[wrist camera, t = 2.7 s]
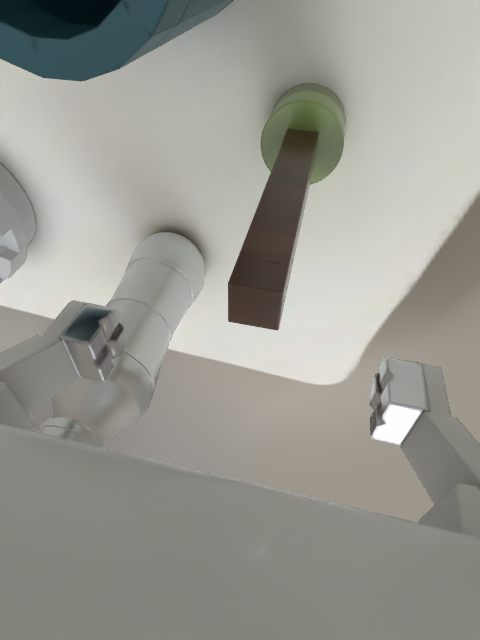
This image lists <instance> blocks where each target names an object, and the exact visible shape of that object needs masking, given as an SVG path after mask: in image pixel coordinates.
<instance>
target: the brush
mask: <svg viewBox="0 0 480 640" xmlns="http://www.w3.org/2000/svg"><path fill="white" fill-rule="evenodd" d="M344 134H345V113H344V109H343V106H342V104H341V102H340V100H339V99H338V97H337V96H336V95H335V94H334V93H333V92H332V91H330V90H329V89H328V88H326V87H324V86H321V85H318V84H302V85H298V86H296V87H294V88H292V89H290V90H288V91H287V92H286V93H285V94H283V95H282V97H281V98H280V99H279V100H278V102H277V103H276V105H275V107H274V109H273V111H272V113H271V115H270V117H269V119H268V121H267V123H266V124H265V127H264V129H263V132H262V136H261V152H262V156H263V159H264V162H265V164H266V165H267V167H268V169H269V170H270V171H271V173H270V176H269V178H268V181H267V184H266V186H265V189H264V191H263V194H262V197H261V199H260V202H259V204H258V207H257V210H256V212H255V215H254V217H253V220H252V223H251V225H250V228H249V230H248V233H247V236H246V238H245V241H244V243H243V246H242V249H241V251H240V254H239V256H238V259H237V262H236V264H235V267H234V269H233V272H232V275H231V277H230V280H229V282H228V321H229V322H234V323H239V324H245V325H251V326H256V327H262V328H267V329H273V330H278V329H279V325H280V320H281V316H282V311H283V306H284V302H285V297H286V292H287V288H288V283H289V278H290V274H291V269H292V264H293V260H294V255H295V250H296V245H297V241H298V236H299V231H300V227H301V222H302V217H303V213H304V208H305V203H306V199H307V194H308V189H309V185H310V184H313V183H316V182H318V181H320V180H322V179H324V178H325V177H326V176H328V175H329V174H330V173H331V172H332V171H333V170H334V168H335V167H336V166H337V164H338V162H339V160H340V158H341V155H342V151H343V145H344Z"/></svg>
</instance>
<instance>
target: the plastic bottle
mask: <svg viewBox="0 0 480 640" xmlns="http://www.w3.org/2000/svg"><path fill="white" fill-rule="evenodd" d="M205 274H206V267H205V262H204V260H203V257H202V255H201V253H200V252H199V250H198V248H197V247H196V246H195V245H194V244H193V243H192V242H191V241H190V240H189V239H187V238H185V237H184V236H181V235H179V234H176V233H172V232H159V233H154V234H152V235H150V236H148V237H147V238H146V239H145V240H143V241H142V242H141V243H140V244H139V245H138V246H137V247H136V248H135V250H134V252H133V254H132V256H131V258H130V260H129V263H128V266H127V269H126V272H125V274H124V276H123V278H122V280H121V282H120V284H119V286H118V288H117V289H116V291H115V293H114V295H113V297H112V299H111V300H110V301H109V302H108V304H107V305H106V307H110V308H115V309H118V310H120V313H121V316H122V318H121V320H120V323H121V324H122V325H123V326H124V327H125V330H126V342H125V346H124V349H123V351H122V352H121V354H120V355H119V356H117V357H116V358H114V359H112V360H113V364H114V366H113V368H112V370H111V371H110V373H109V375H108V376H107V378H106V380H105V381H104V382H103V381H97V380H92V379H86V378H81V377H79V378H80V379H79V380H77V381H76V382H74V383H73V384H72V385H70V386H69V387H67V388H66V389H65V390H63V391H62V392H60V393H59V394H58V395H56V396H55V397H54V398H52V399H51V400H52V409H53V417H52V418H51V419H46V420H45V421H44V422H43V423H42V424H41V426H40V427H39V433H44V434H48V435H52V436H56V437H60V438H65V439H69V440H73V441H77V442H82V443H86V444H90V445H94V446H98V447H103V448H105V445H104V443H103V442H104V441H105V440H106V439H108V438H110V437H111V436H114V435H116V434H118V433H120V432H121V431H123V430H125V429H126V428H128V427H129V426H131V425H132V424H134V423H135V422H137V421H138V420H139V419H140V417H141V416H142V415H143V414H144V413H145V412H146V410H147V409H148V408H149V405H150V402H151V400H152V397H153V393H154V389H155V386H156V382H157V379H158V375H159V371H160V368H161V364H162V361H163V358H164V356H165V353H166V351H167V348H168V345H169V342H170V340H171V338H172V335H173V333H174V331H175V329H176V327H177V325H178V324H179V322H180V320H181V319H182V317H183V315H184V314H185V312H186V310H187V309H188V308H189V307H190V306H191V305H192V303H193V302H194V301H195V299H196V298H197V296H198V295H199V293H200V292H201V290H202V288H203V284H204V279H205Z"/></svg>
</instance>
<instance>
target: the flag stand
mask: <svg viewBox="0 0 480 640" xmlns="http://www.w3.org/2000/svg"><path fill="white" fill-rule="evenodd" d="M35 232H36V219H35V213H34V211H33V208H32V205H31V203H30V201H29V199H28V197H27V195H26V193H25V192H24V190H23V189H22V187H21V186H20V185H19V183H18V182H17V180H16V179H15V178H14V177H13V176H12V175H11V174H10V173H9V171H8V170H7V169H6V168H5V167H4V166H2V165H1V164H0V283H1V282H2V281H3V280H5V279H8V278H9V277H11V276H12V275H13V274H14V273H15V272H16V271H17V270H18V269H19V268H20V267H21V266H22V265H23V264H24V262H25V259H26V257H27V244H28V243H29V242H30V241H31V240H32V239H33V237H34V234H35Z"/></svg>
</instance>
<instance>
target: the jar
mask: <svg viewBox="0 0 480 640" xmlns="http://www.w3.org/2000/svg"><path fill="white" fill-rule="evenodd" d="M232 1H233V0H0V59H2V60H5V61H7V62H9V63H11V64H13V65H16V66H18V67H20V68H22V69H25V70H27V71H29V72H31V73H33V74H36V75H38V76H41V77H42V78H51V79H62V80H73V81H86V80H89V79H91V78H94V77H97V76H100V75H103V74H106V73H109V72H111V71H114V70H117V69H120V68H121V67H123V66H125V65H127V64H129V63H130V62H132V61H134V60H136V59H138V58H139V57H141V56H143V55H145V54H147V53H148V52H150V51H152V50H154V49H156V48H157V47H159V46H161V45H163V44H164V43H166V42H168V41H170V40H172V39H173V38H175V37H177V36H179V35H181V34H182V33H184V32H186V31H188V30H189V29H191V28H193V27H195V26H197V25H198V24H200V23H202V22H204V21H206V20H207V19H209V18H211V17H213V16H215V15H216V14H218V13H219V12H220V11H221V10H222V9H224V8H225V7H226V6H227V5H228V4H230V3H231V2H232Z"/></svg>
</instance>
